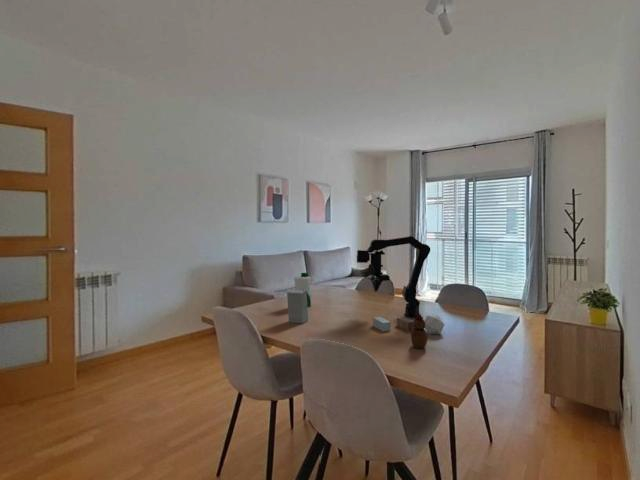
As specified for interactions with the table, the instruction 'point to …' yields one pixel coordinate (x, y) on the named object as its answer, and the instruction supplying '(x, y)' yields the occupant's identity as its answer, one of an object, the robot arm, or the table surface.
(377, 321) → the blue-grey block
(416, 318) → the wooden figurine
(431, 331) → the die
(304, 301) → the skincare box
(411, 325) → the walnut block
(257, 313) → the table surface
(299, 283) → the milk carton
